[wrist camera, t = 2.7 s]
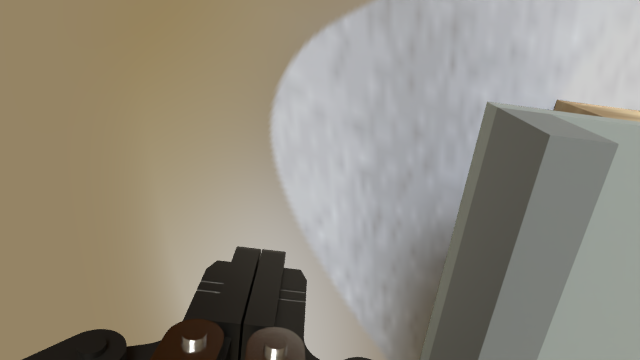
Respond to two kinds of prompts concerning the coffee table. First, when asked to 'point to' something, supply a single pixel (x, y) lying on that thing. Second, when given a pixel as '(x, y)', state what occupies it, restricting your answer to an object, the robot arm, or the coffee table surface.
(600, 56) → the coffee table surface
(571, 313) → the lid
